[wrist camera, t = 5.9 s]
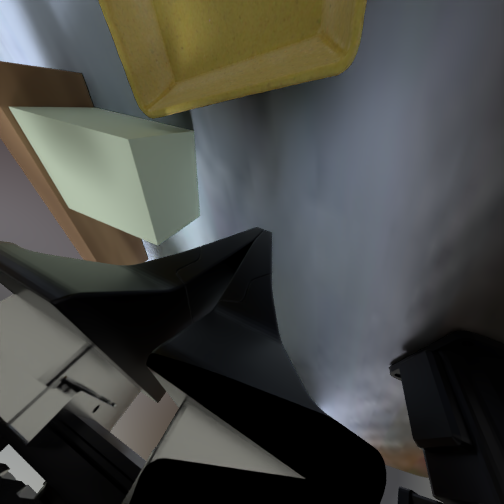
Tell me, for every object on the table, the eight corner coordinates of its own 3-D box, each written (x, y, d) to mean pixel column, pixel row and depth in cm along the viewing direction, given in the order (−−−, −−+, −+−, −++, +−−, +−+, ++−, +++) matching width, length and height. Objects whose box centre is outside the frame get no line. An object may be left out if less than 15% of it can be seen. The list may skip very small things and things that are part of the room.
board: (81, 73, 10) (-31, 57, 7) (148, 259, 19) (112, 286, 16) (57, 69, 10) (-58, 52, 7) (133, 252, 19) (95, 277, 16)
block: (196, 130, 9) (128, 139, 6) (201, 214, 13) (158, 245, 10) (98, 107, 11) (8, 106, 8) (126, 188, 14) (68, 208, 11)
